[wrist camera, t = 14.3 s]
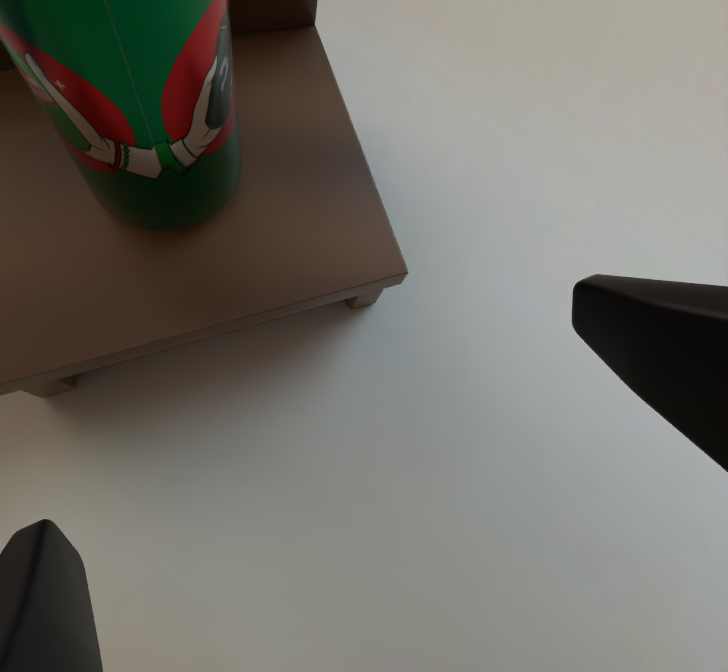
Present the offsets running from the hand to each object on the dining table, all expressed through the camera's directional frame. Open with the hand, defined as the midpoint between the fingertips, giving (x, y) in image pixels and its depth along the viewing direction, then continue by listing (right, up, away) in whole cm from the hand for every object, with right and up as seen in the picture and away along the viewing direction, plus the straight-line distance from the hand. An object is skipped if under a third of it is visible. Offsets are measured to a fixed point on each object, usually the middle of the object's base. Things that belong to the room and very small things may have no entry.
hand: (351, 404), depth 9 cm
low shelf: (-7, +6, +15) cm, 17 cm away
